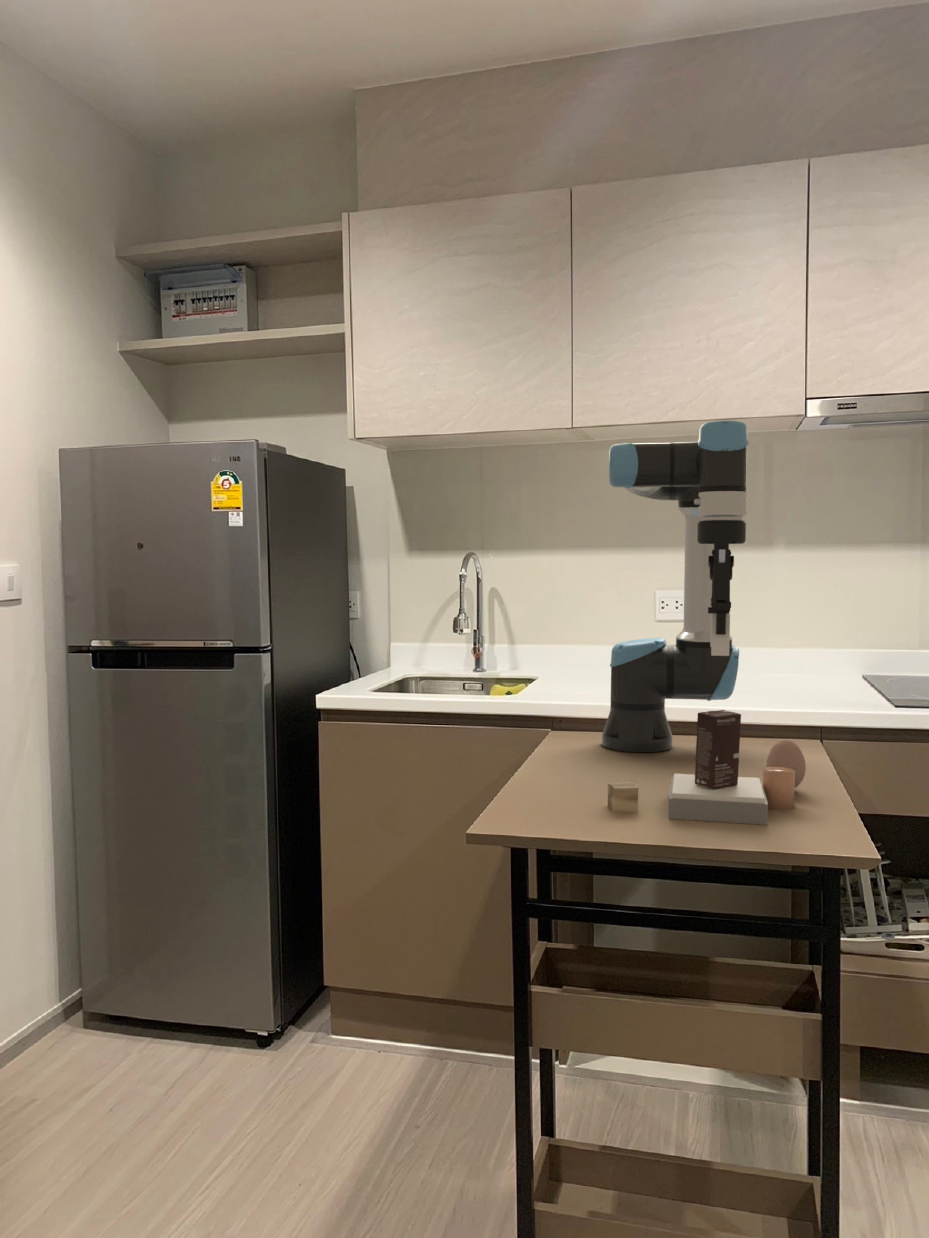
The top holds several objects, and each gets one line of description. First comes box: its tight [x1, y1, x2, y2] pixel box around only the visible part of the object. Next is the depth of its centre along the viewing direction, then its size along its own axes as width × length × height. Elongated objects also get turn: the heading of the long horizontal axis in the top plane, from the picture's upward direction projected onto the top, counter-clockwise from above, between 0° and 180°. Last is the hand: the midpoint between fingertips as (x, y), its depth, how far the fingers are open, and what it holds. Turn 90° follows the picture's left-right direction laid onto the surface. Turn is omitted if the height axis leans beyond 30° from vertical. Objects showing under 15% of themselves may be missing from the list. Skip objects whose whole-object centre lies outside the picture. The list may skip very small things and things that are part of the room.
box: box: [694, 709, 742, 789], centre depth 157 cm, size 6×4×12 cm
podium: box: [667, 773, 769, 826], centre depth 158 cm, size 15×15×4 cm
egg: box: [765, 738, 807, 789], centre depth 170 cm, size 7×7×9 cm
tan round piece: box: [762, 766, 796, 811], centre depth 160 cm, size 5×5×6 cm
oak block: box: [607, 781, 639, 813], centre depth 158 cm, size 4×4×4 cm
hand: (719, 651), depth 156 cm, fingers open, 13 cm apart
